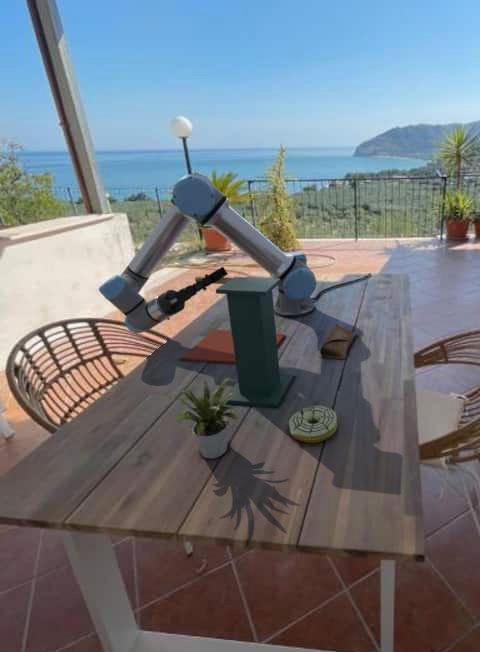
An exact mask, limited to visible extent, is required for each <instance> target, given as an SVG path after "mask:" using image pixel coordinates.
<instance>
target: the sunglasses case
mask: <svg viewBox="0 0 480 652" xmlns="http://www.w3.org/2000/svg"><path fill="white" fill-rule="evenodd" d="M358 335H359V334H358V333H356V332H354V331H352V330H350V329H347V328H345V327H344V326H341V325H339V323H338V324H336V325H335V327H334V328H333V329H332V331H331V332H330V333H329V335H328V336H327V338H326V339H325V341H324V343H323V345H322V346H321V348H320V350H319V353H320V356H321V357H322V358H326V359H334V360H335V359H336V360H337V359H338V360H343V359H346V358H347V356H348V352H349V350H350V347H351V346H352V344H353V342H354V341H355V339H356V338H357V336H358Z"/></svg>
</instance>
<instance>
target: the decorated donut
mask: <svg viewBox="0 0 480 652" xmlns="http://www.w3.org/2000/svg"><path fill="white" fill-rule="evenodd" d="M288 427H289V433H290V435H291V436H292V438H293V439H295V440H298V441H300V442H304V443H310V444H317V443H321V442H324V441H326V440H328V439H330V438H331V437H332V436H333V435H334V434H335V432H336V430H337V427H338V417H337V413H336V411H334V410H333V409H332V408H330V407H328V406H324V405H311V406H308V407H304V408H302V409H301V408H300V410H298V411H296V412H295V413H294V414H292V416H291V417H290V419H289V421H288Z"/></svg>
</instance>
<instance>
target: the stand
mask: <svg viewBox="0 0 480 652" xmlns="http://www.w3.org/2000/svg"><path fill="white" fill-rule="evenodd" d="M231 278H232V279H231V280H229V281H228V282H226V283H225V284H221V285H220V286H219V287H217V288H216V289H215V294H216V295H226V300H227V308H228V315H229V323H230V331H232V338H233V346H234V353H235V361H236V364H235V366H236V368H235V369H236V374H237V382H236V383H235V385H234V386H233V387H232V388H231V390H230V391H229V392H228V393H227V395H228V394H230V393H233V392H237V393H234V394H232V395H230V396H228V397H227V398H226V399H229V400H228V402H227V403H226V404H232V405H244V406H257V407H265V408H266V407H267V408H278V407H279V405H280V404H281V403H282V400H283V398H284V397H285V395H286V394H287V391H288V390H289V388H290V386H291V384H292V382H293V381H294V379H295V374H294V373H281V372H280V363H279V362H280V361H279V350H278V346H277V339H276V334H277V328H276V318H275V304H274V295H273V290H274V289H276V288H277V287H278V284H279V283H281V280H280V279H275V278H270V277H250V276H249V277H248V276H234V277H231ZM230 398H232V399H230Z"/></svg>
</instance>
